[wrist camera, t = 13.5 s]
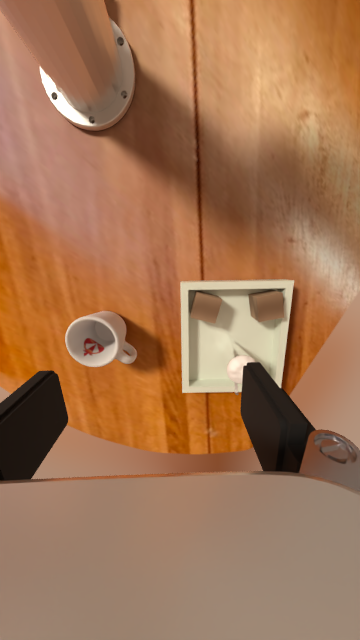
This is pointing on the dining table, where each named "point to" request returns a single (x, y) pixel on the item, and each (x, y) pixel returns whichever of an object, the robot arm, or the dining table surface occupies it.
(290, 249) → the dining table surface
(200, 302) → the walnut block
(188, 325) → the tray
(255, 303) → the walnut block
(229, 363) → the milkshake
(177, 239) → the dining table surface
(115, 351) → the cup
